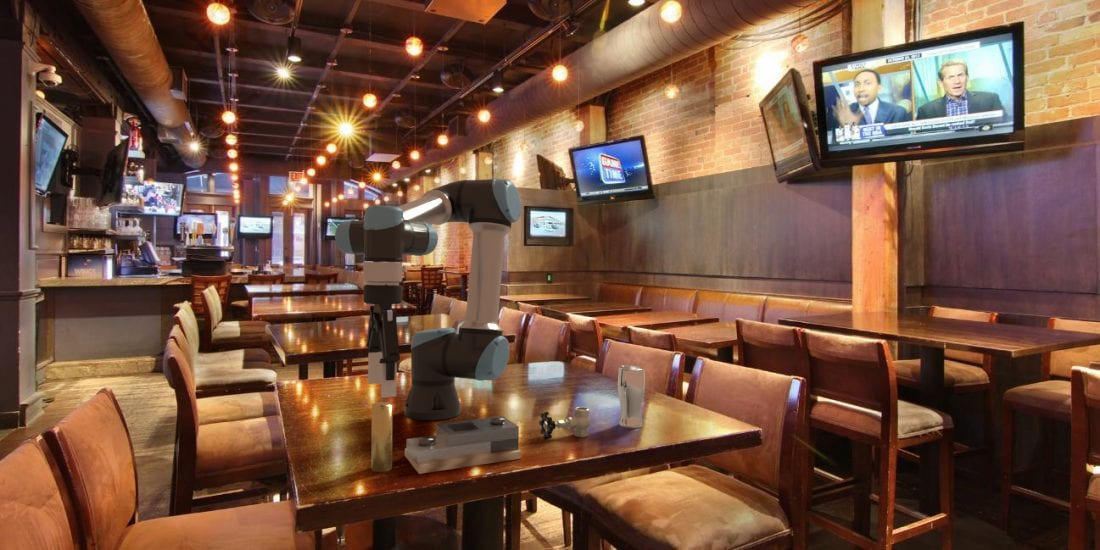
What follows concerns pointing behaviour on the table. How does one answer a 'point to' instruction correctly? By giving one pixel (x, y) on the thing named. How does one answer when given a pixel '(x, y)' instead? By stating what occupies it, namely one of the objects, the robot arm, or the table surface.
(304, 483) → the table surface
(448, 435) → the stepped bolted base plate
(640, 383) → the beer glass
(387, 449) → the brass pin
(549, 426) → the valve
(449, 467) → the board
